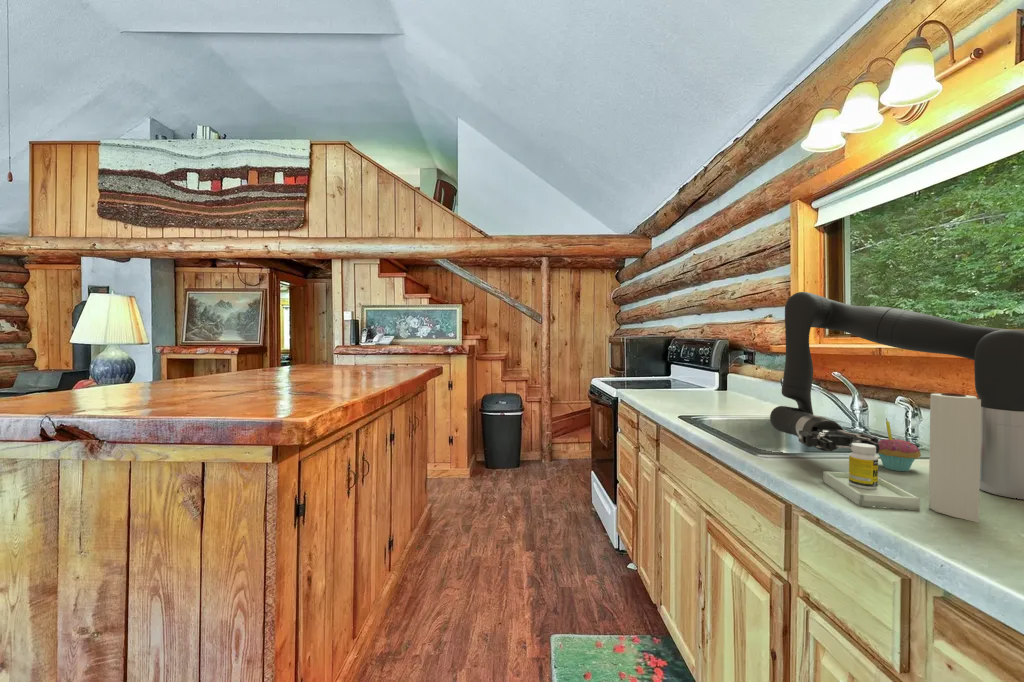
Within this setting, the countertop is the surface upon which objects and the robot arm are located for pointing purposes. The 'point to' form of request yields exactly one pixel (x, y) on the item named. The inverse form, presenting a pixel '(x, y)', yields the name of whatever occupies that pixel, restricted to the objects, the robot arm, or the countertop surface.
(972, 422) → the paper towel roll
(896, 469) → the cupcake
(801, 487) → the countertop surface
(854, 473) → the supplement bottle
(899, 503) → the tray
